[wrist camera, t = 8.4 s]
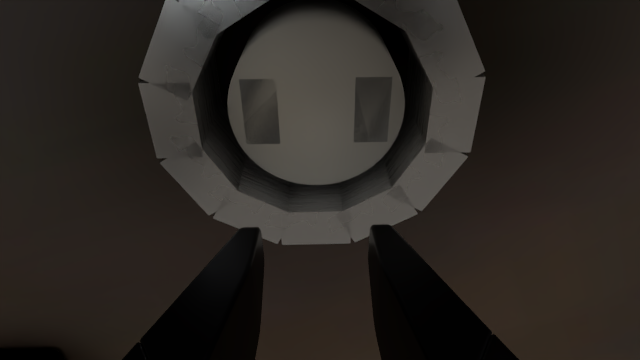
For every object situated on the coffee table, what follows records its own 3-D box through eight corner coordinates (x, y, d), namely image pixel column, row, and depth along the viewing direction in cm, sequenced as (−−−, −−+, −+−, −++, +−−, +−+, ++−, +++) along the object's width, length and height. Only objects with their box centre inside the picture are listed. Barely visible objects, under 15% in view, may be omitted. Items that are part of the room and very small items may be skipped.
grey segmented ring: (200, 189, 21) (179, 247, 17) (148, -77, 15) (100, -67, 11) (429, 184, 21) (452, 241, 17) (469, -81, 15) (516, -73, 12)
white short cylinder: (249, 142, 20) (238, 186, 17) (232, -2, 16) (215, 22, 13) (384, 139, 20) (397, 183, 17) (395, -5, 16) (413, 19, 13)
